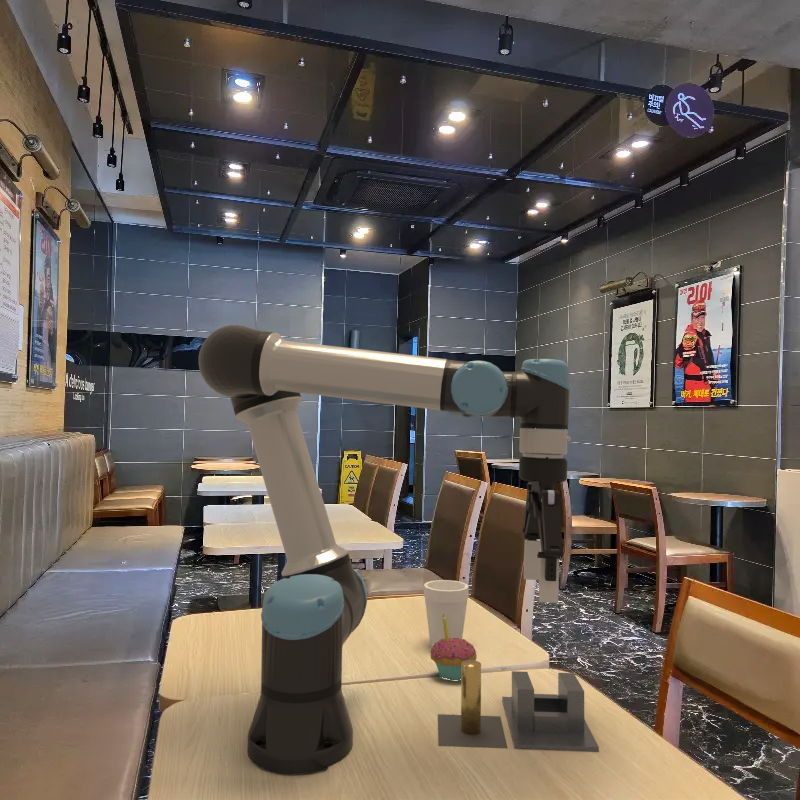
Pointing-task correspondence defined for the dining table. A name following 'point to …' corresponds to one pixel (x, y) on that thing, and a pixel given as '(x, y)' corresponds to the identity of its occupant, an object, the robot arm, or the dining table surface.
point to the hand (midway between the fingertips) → (539, 590)
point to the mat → (486, 738)
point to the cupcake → (451, 655)
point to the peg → (471, 697)
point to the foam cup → (445, 608)
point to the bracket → (548, 716)
